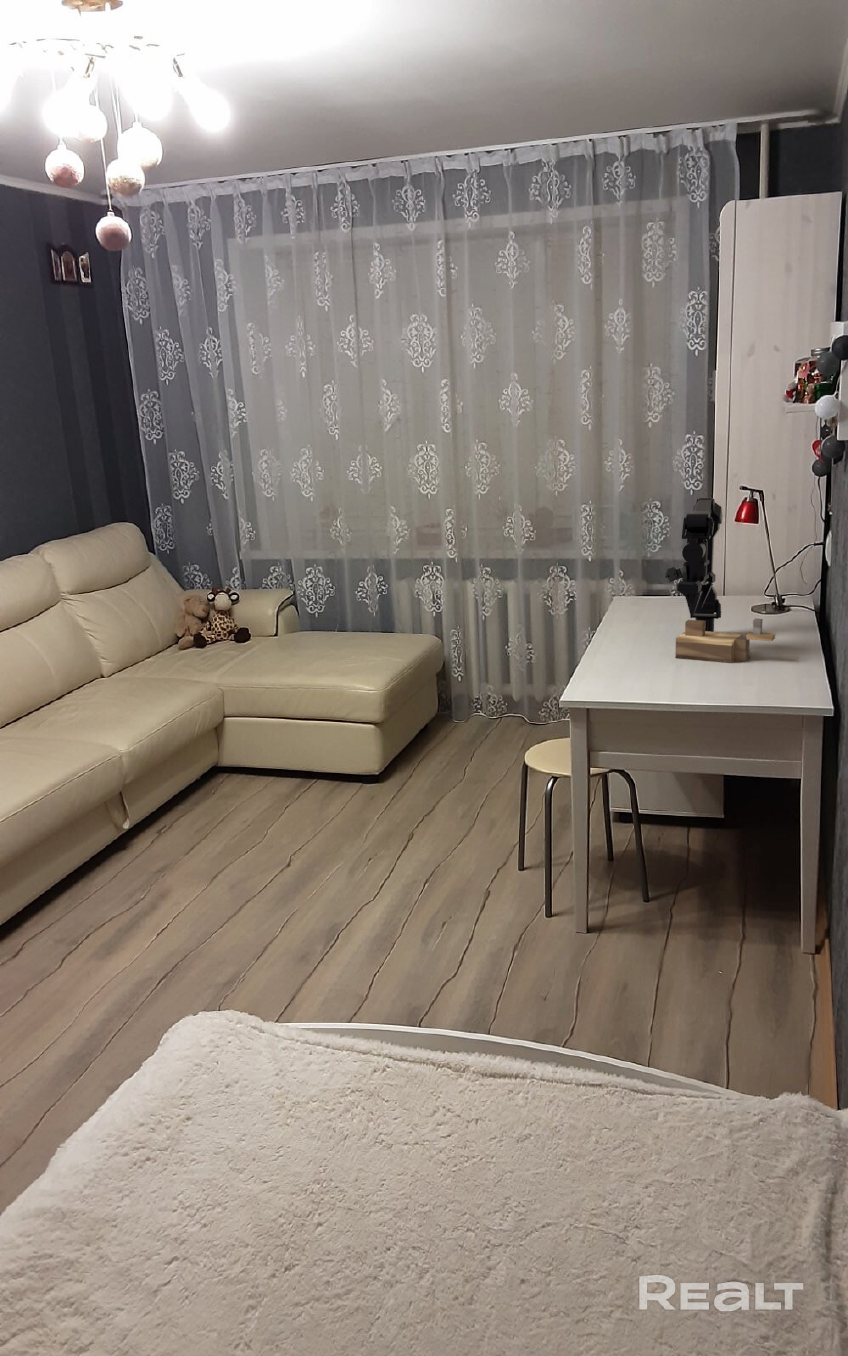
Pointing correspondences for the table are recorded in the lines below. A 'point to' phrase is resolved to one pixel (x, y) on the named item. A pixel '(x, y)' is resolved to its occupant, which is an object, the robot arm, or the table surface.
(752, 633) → the block
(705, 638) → the lid
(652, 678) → the table surface
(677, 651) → the toolbox
